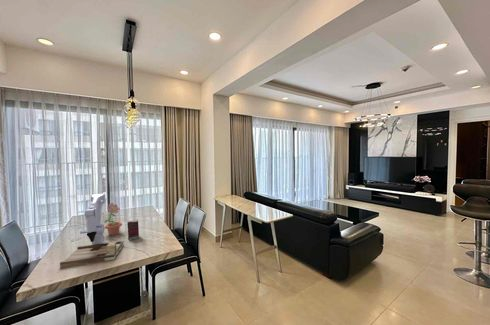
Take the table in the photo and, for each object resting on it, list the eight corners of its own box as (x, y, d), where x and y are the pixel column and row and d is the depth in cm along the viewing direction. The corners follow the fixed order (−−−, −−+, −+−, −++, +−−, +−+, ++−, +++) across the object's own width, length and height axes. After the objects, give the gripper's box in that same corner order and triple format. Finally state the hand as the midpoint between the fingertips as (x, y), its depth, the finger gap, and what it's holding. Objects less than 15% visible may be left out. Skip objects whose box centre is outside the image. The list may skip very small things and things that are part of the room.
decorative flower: (112, 237, 180) (111, 205, 179) (100, 236, 183) (99, 205, 181) (125, 231, 195) (124, 201, 193) (114, 230, 198) (112, 201, 196)
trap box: (78, 250, 156) (77, 246, 156) (123, 244, 166) (123, 240, 166) (60, 267, 134) (59, 262, 133) (114, 259, 143) (113, 254, 143)
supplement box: (138, 236, 183) (138, 219, 182) (139, 238, 179) (138, 221, 178) (128, 238, 179) (127, 221, 178) (128, 240, 175) (127, 222, 174)
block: (109, 249, 155) (109, 243, 154) (116, 248, 156) (116, 242, 156) (107, 252, 150) (106, 245, 150) (114, 251, 151) (114, 244, 151)
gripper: (77, 227, 146) (78, 245, 146) (100, 224, 150) (101, 242, 151) (82, 224, 152) (83, 241, 153) (103, 221, 157) (104, 238, 157)
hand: (92, 241), depth 152 cm, fingers closed
